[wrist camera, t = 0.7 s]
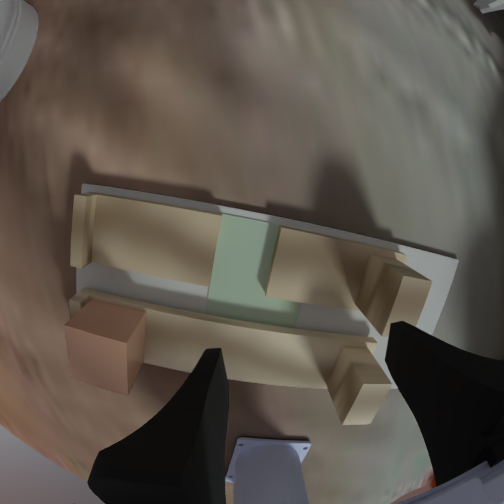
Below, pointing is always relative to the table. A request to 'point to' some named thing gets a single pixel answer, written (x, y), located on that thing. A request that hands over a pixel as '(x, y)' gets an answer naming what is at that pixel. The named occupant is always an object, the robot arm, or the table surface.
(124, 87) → the table surface
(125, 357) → the cube
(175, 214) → the broken strip
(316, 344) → the beige wooden beam
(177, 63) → the table surface
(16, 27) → the honey pot
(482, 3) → the white spiky cylinder
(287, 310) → the mat
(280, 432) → the table surface
